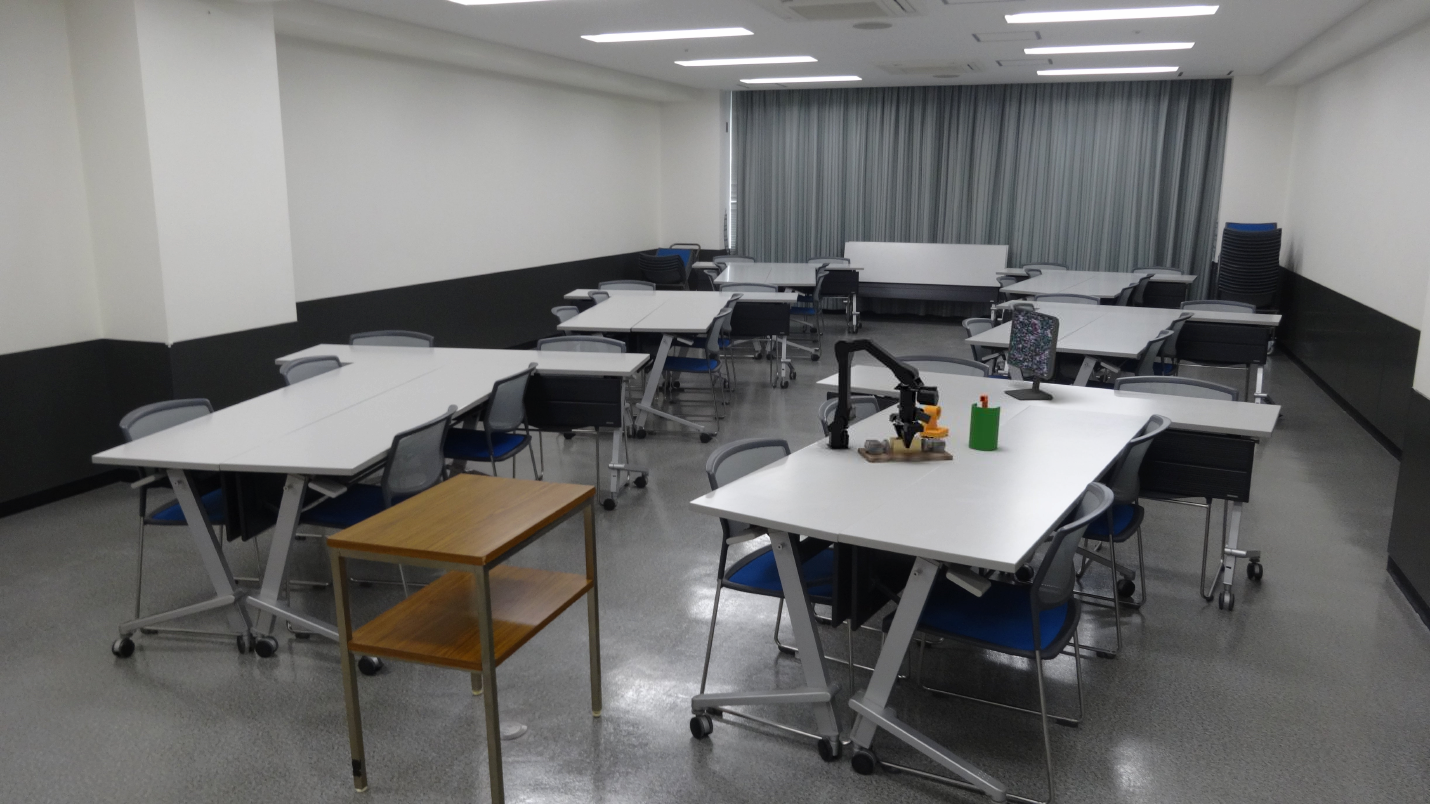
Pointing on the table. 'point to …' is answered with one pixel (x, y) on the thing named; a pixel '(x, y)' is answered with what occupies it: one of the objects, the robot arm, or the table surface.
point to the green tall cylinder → (984, 426)
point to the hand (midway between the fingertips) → (905, 446)
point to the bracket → (933, 423)
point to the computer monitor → (1033, 349)
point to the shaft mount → (881, 453)
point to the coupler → (899, 445)
